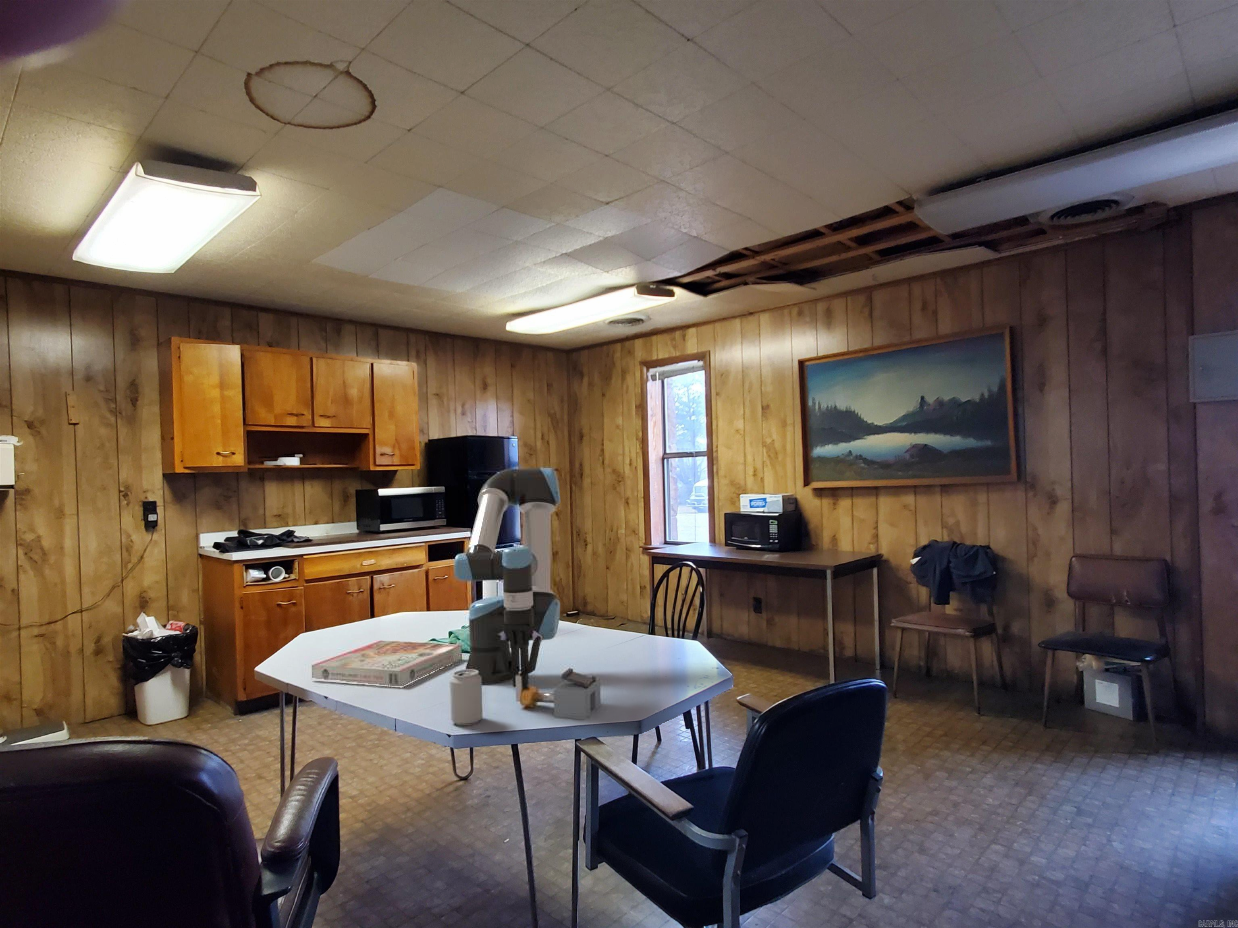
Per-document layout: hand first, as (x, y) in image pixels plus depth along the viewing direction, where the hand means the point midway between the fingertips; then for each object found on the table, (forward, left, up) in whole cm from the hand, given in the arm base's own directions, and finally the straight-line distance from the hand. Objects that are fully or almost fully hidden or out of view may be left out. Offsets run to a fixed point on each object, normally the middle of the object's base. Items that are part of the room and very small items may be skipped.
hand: (521, 699), depth 180 cm
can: (-9, -13, -2) cm, 15 cm away
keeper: (+16, 0, +6) cm, 17 cm away
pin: (+7, 0, -2) cm, 7 cm away
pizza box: (-57, +25, -3) cm, 62 cm away
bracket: (+15, 0, -2) cm, 16 cm away
